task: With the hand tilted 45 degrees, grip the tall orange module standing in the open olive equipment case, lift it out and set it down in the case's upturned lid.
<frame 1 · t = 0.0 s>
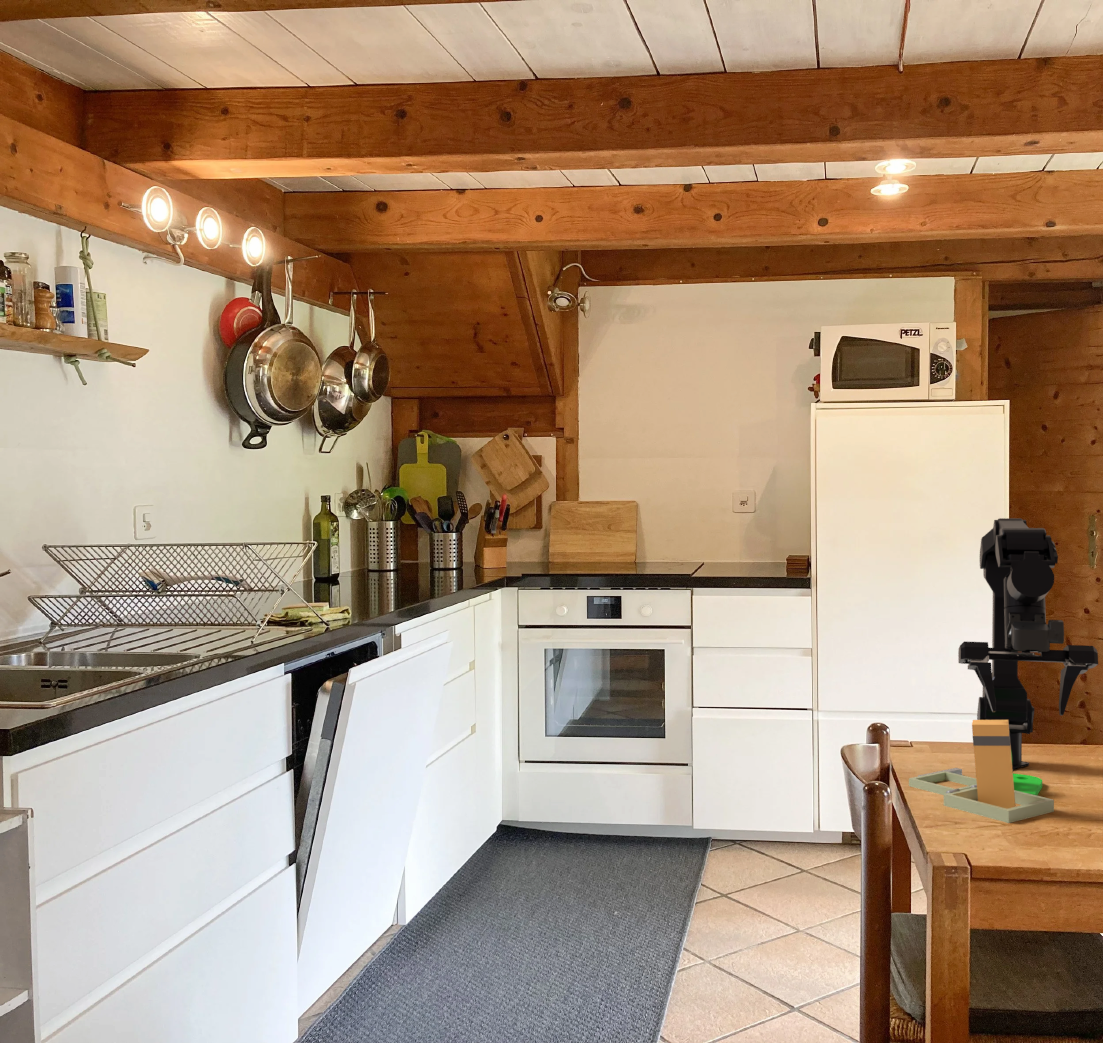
hand: (1027, 713, 160), 15 cm above the table, tool pointing down, fingers open, 9 cm apart
stay rod: (940, 779, 183), on the table
module: (997, 809, 161), point 1 cm above the table, touching case
case: (998, 813, 162), on the table
mechanical part: (1019, 796, 173), on the table
lid: (950, 792, 174), on the table
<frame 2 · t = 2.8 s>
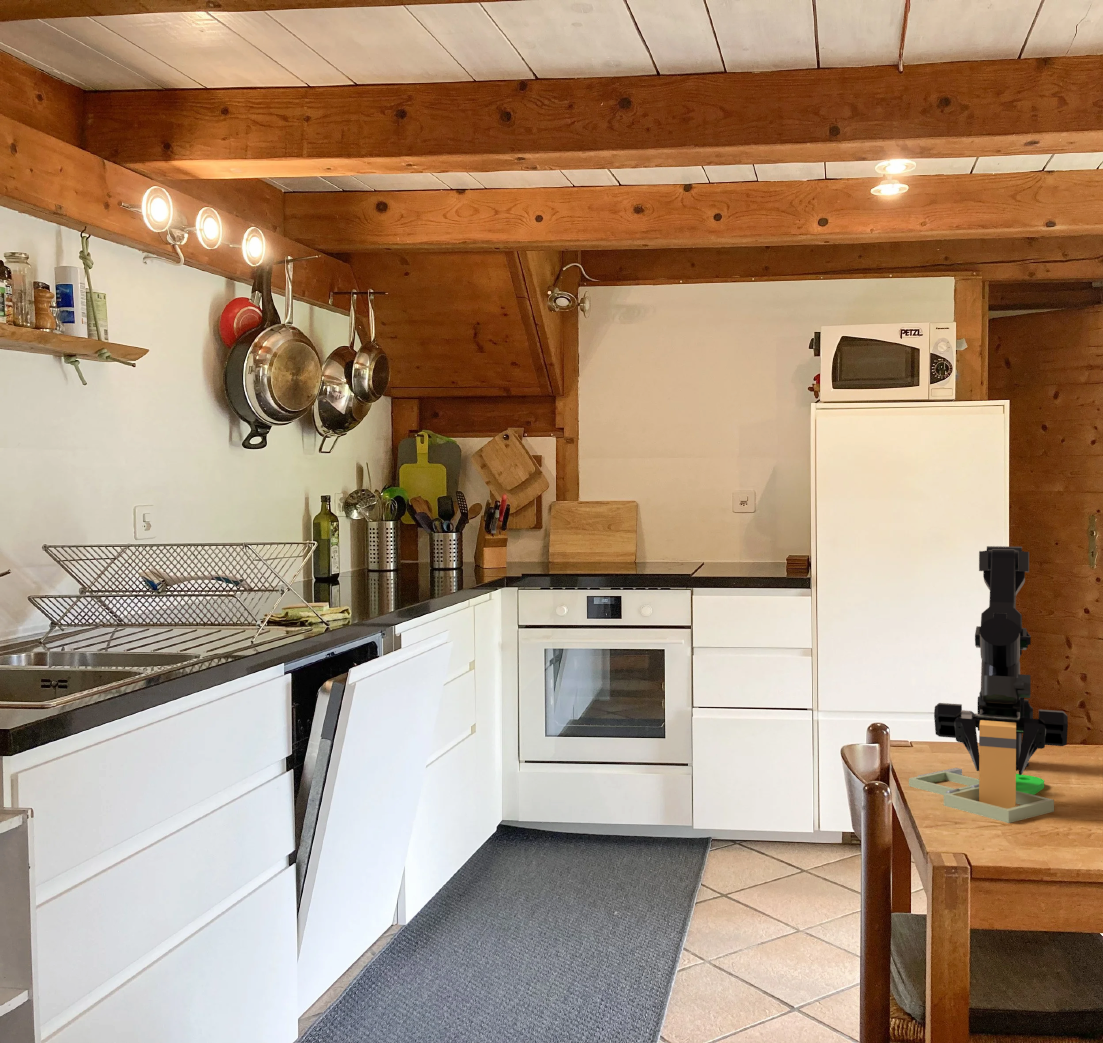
hand: (998, 771, 160), 7 cm above the table, tool tilted 45°, fingers open, 5 cm apart
module: (997, 810, 161), point 1 cm above the table, touching case, gripper
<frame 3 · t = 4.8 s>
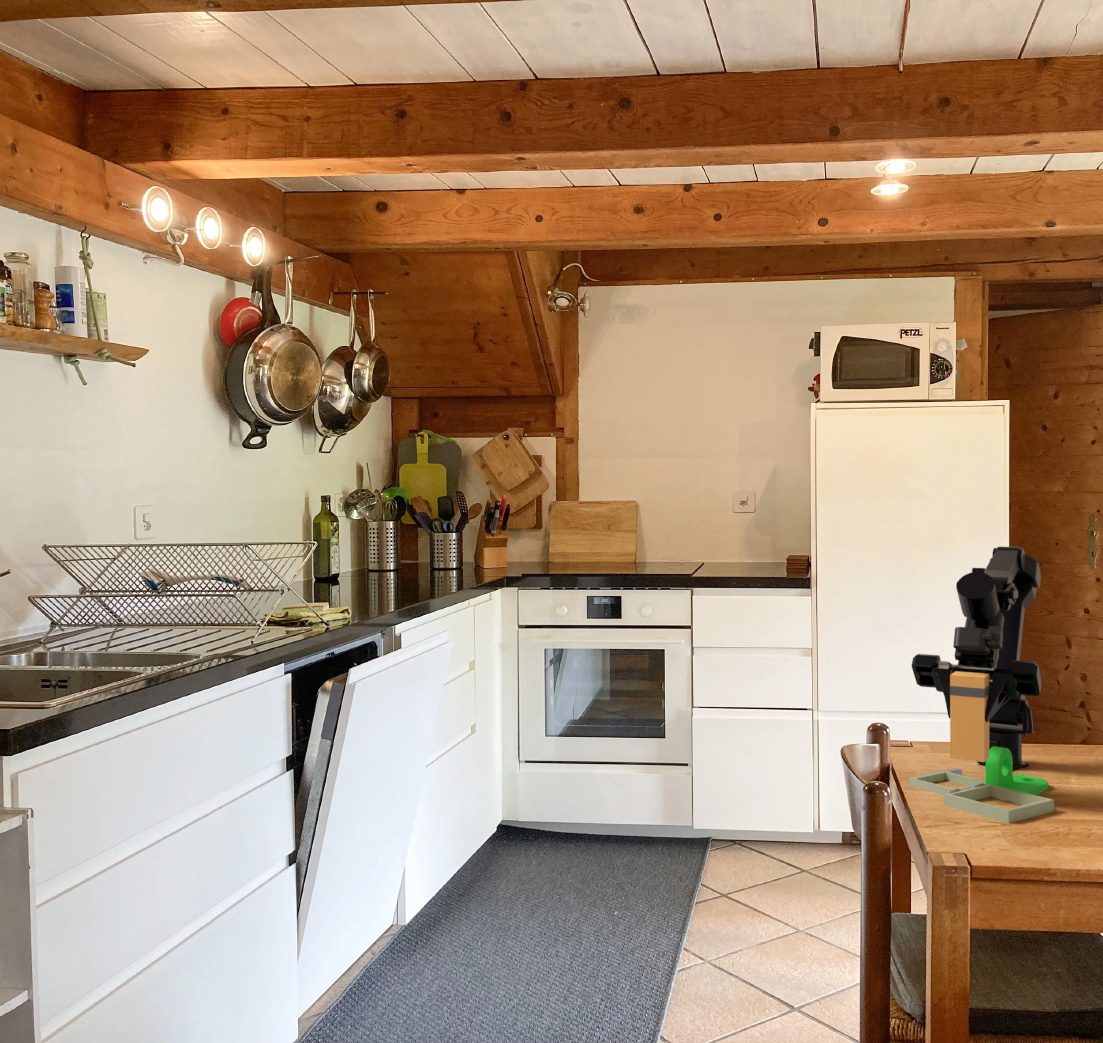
hand: (967, 718, 167), 13 cm above the table, tool tilted 45°, fingers closed on module, 5 cm apart
module: (969, 757, 168), point 7 cm above the table, touching gripper
mechanical part: (1020, 797, 173), on the table, touching lid
when the fingers open (8 cm above the table, at t = 6.6 s): module drops 1 cm, resting on lid.
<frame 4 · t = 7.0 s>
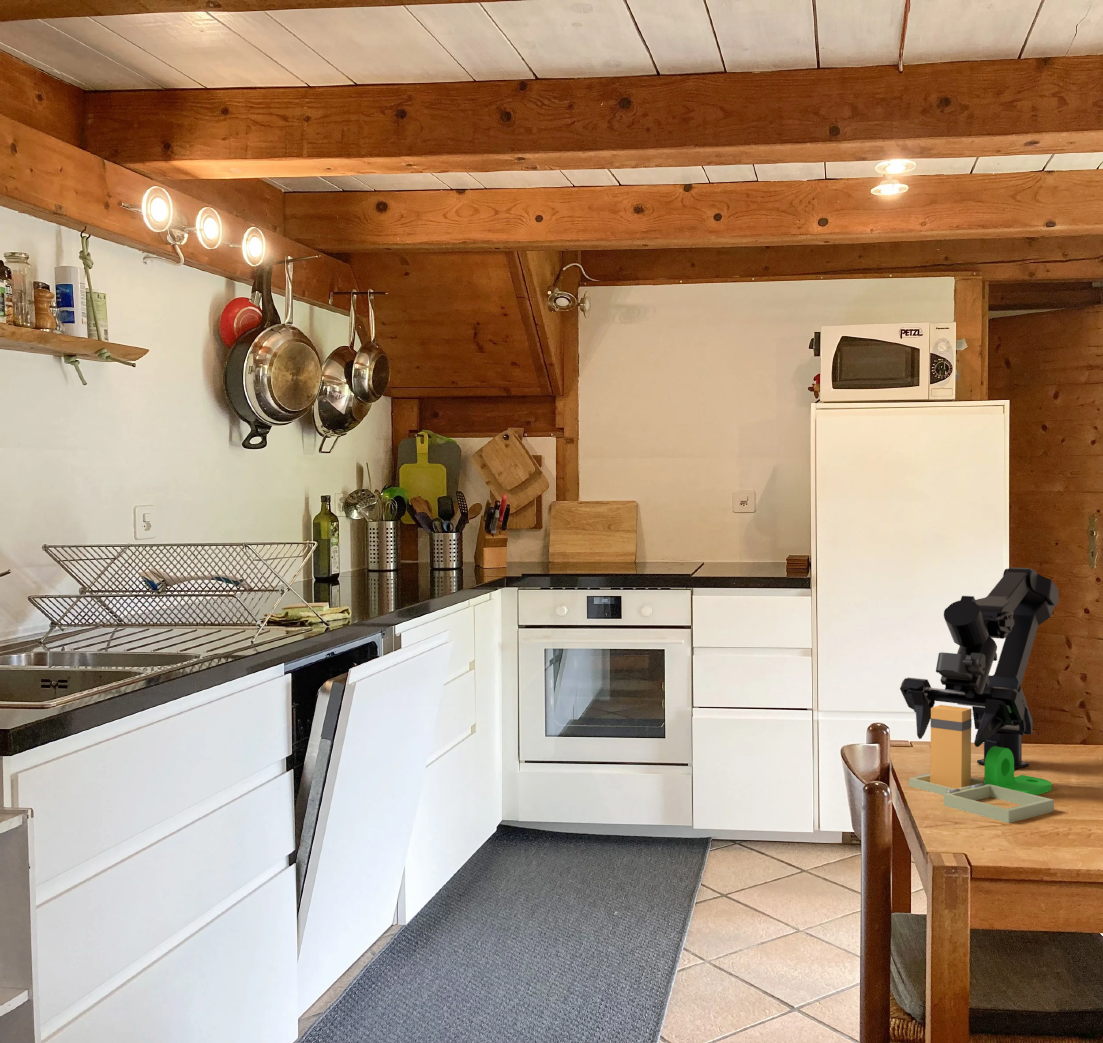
hand: (947, 741, 173), 9 cm above the table, tool tilted 45°, fingers open, 9 cm apart
module: (950, 789, 174), point 1 cm above the table, touching lid
mechanical part: (1021, 797, 172), on the table
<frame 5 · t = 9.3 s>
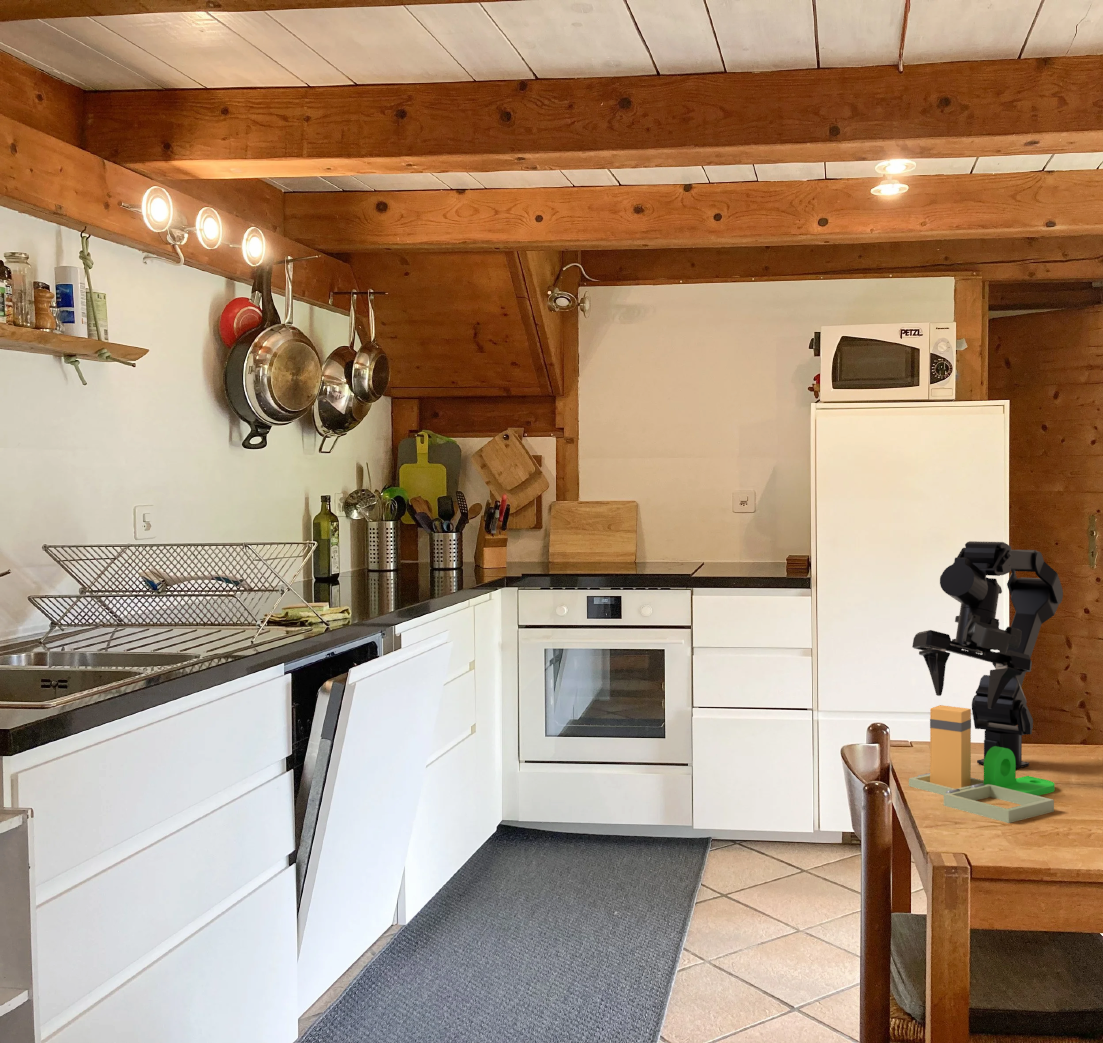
hand: (964, 702, 181), 13 cm above the table, tool tilted 20°, fingers open, 9 cm apart
nothing on the table moved.
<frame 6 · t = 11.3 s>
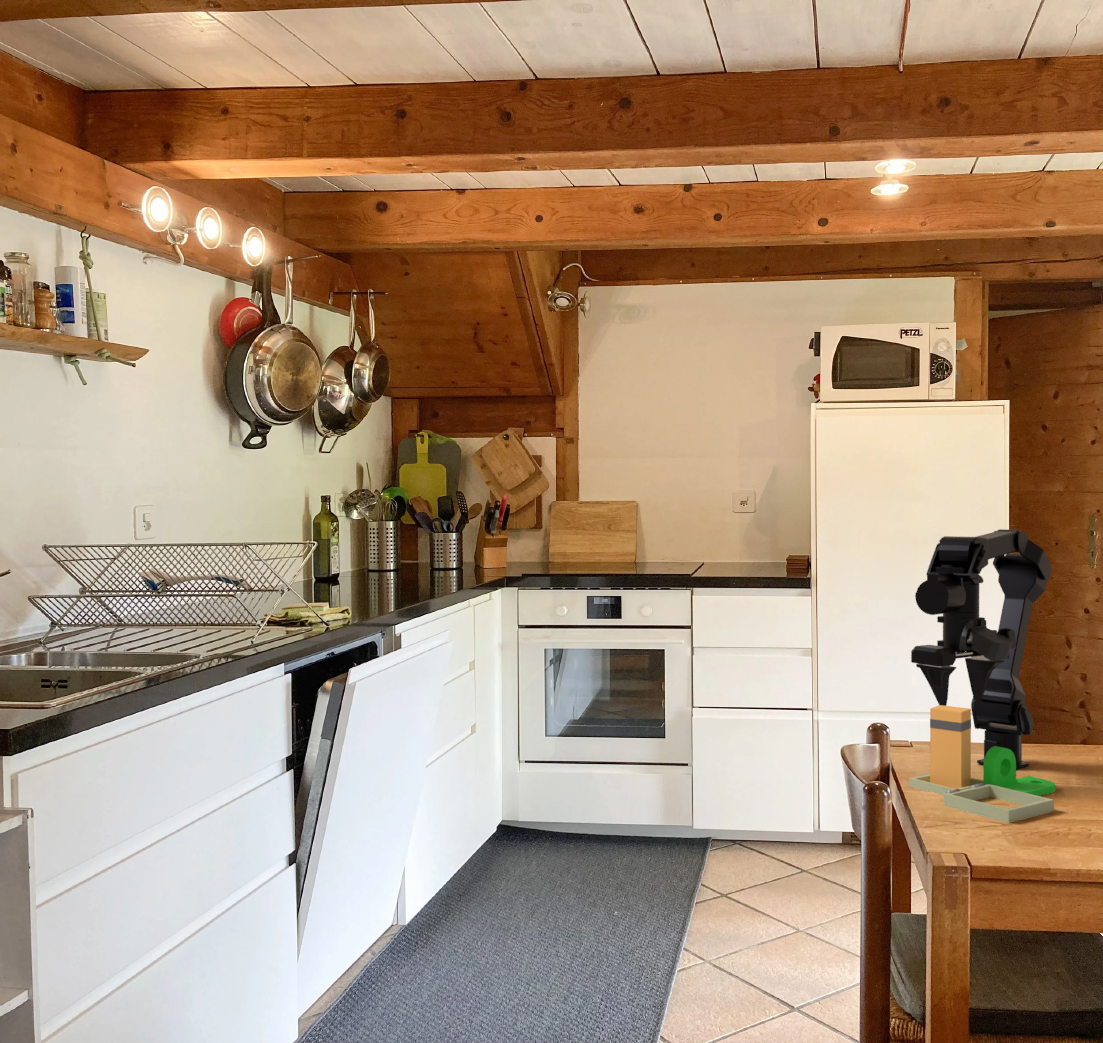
hand: (960, 703, 181), 13 cm above the table, tool pointing down, fingers open, 9 cm apart
nothing on the table moved.
at the end: module inside the target area on the lid (0.0 cm from its centre), point 0.6 cm above the lid's base; module tilted 0°; the gripper is holding nothing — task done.
